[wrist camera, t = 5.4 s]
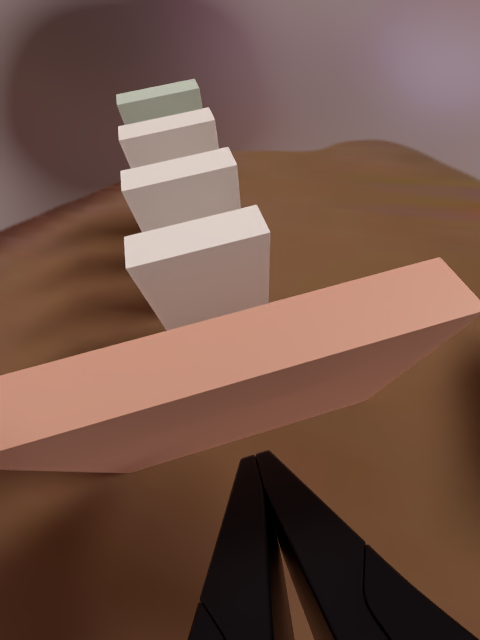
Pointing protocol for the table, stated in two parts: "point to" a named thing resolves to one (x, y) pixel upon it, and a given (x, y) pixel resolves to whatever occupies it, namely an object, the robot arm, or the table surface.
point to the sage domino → (159, 101)
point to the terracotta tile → (228, 374)
